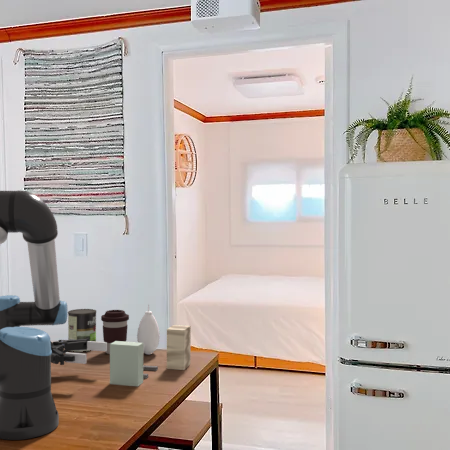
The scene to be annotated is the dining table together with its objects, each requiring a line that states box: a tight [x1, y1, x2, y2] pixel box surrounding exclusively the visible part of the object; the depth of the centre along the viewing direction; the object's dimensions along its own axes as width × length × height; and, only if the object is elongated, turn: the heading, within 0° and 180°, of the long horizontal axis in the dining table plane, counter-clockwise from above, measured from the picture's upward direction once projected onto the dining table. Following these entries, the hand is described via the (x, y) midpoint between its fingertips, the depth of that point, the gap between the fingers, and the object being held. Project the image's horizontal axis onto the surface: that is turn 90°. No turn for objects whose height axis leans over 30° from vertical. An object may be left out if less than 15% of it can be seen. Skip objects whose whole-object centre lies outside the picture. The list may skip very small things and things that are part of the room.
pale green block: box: [109, 341, 144, 387], centre depth 162 cm, size 4×9×12 cm, turn 77°
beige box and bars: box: [143, 324, 192, 380], centre depth 175 cm, size 18×18×13 cm
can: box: [67, 308, 97, 353], centre depth 202 cm, size 10×10×14 cm
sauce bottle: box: [136, 303, 161, 355], centre depth 195 cm, size 8×8×18 cm
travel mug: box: [100, 309, 130, 355], centre depth 197 cm, size 10×10×15 cm
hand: (96, 352), depth 164 cm, fingers open, 13 cm apart
